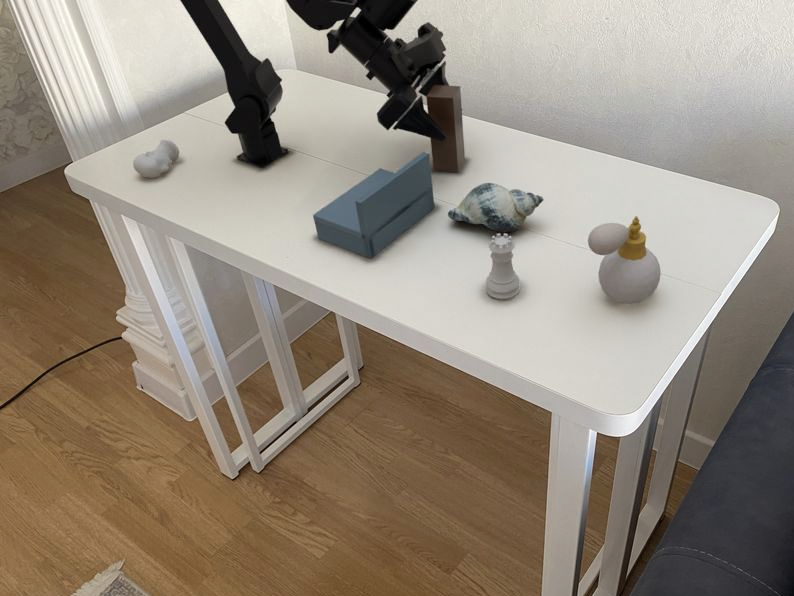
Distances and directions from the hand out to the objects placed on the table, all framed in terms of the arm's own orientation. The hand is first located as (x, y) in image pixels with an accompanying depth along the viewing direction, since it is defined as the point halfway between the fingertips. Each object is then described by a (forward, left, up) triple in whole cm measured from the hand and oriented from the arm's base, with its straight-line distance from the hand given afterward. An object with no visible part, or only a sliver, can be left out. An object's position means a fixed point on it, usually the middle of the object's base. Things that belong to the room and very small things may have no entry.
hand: (452, 125), depth 113 cm
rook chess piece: (+24, -23, -7) cm, 34 cm away
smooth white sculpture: (-43, -25, -7) cm, 50 cm away
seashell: (+15, -11, -7) cm, 20 cm away
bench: (-1, -19, -7) cm, 21 cm away
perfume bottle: (+38, -17, -7) cm, 42 cm away
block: (-1, 0, -7) cm, 7 cm away
